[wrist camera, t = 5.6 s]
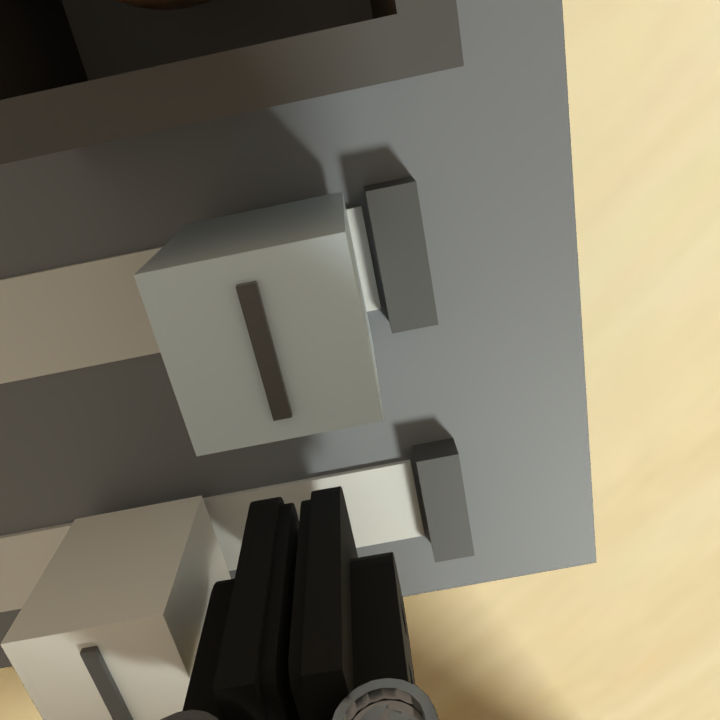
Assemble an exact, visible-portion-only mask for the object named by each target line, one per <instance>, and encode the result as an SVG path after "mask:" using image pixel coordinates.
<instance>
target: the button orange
mask: <svg viewBox="0 0 720 720" xmlns="http://www.w3.org/2000/svg"><path fill="white" fill-rule="evenodd" d="M115 1H118V2H122V3H125V4H128V5H132V6H135V7H140V8H147V9H153V10H176V9H183V8H190V7H194V6H197V5H200V4H204V3H207V2H210V1H212V0H115Z"/></svg>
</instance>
